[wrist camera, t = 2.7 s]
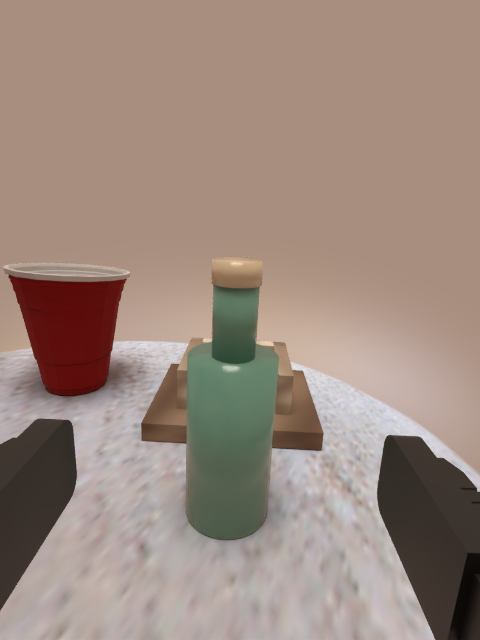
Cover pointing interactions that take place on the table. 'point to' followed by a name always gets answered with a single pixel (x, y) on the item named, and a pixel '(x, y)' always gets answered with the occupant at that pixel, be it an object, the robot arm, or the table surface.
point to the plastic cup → (69, 320)
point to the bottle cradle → (290, 410)
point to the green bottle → (230, 409)
